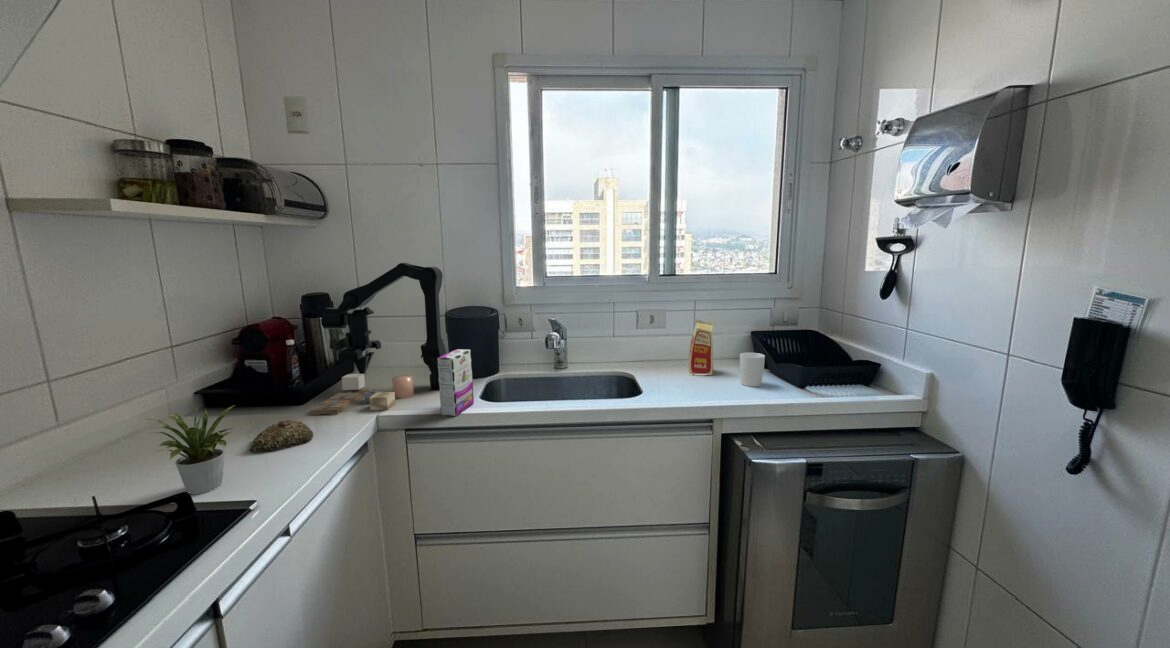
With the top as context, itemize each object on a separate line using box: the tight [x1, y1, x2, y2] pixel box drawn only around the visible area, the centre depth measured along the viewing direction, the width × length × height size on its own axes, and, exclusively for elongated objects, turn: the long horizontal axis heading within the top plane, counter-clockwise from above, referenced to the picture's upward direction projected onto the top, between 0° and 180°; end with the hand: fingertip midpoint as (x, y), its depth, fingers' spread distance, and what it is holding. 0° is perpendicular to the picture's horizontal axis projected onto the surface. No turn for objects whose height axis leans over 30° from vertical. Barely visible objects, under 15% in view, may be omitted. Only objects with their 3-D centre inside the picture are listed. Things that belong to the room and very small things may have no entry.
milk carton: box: [688, 318, 716, 376], centre depth 164 cm, size 9×9×20 cm
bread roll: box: [249, 419, 314, 454], centre depth 106 cm, size 13×12×5 cm
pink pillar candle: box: [391, 374, 415, 399], centre depth 140 cm, size 6×6×6 cm
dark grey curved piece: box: [364, 389, 384, 404], centre depth 135 cm, size 5×5×3 cm
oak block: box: [369, 391, 396, 411], centre depth 129 cm, size 5×5×4 cm
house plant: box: [138, 403, 236, 495], centre depth 83 cm, size 14×14×16 cm
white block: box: [341, 373, 366, 390], centre depth 141 cm, size 4×5×4 cm
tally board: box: [310, 387, 369, 416], centre depth 133 cm, size 20×7×2 cm, turn 3°
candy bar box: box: [437, 348, 475, 417], centre depth 126 cm, size 11×5×16 cm, turn 168°
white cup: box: [739, 351, 766, 388], centre depth 149 cm, size 8×8×10 cm
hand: (362, 375), depth 147 cm, fingers closed
